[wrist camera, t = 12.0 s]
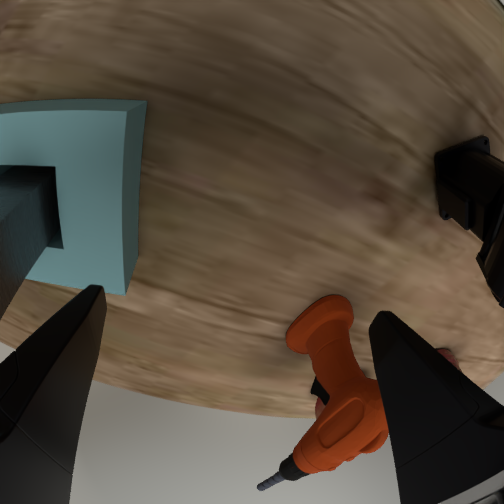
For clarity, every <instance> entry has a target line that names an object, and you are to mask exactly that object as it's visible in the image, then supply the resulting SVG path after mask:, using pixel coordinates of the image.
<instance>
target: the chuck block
mask: <svg viewBox="0 0 504 504" xmlns="http://www.w3.org/2000/svg"><path fill="white" fill-rule="evenodd" d="M146 108H147V101H142V100H122V99H55V100H37V101H24V102H14V103H5V104H0V175H1V174H3V173H4V172H5V171H7V170H8V169H10V168H11V167H12V166H14V165H33V166H56V185H57V198H58V208H59V218H60V226H61V228H60V229H59V231H58V232H57V233H56V235H55V236H54V237H53V239H52V240H51V241H50V243H49V244H48V245H47V247H46V248H45V250H44V251H43V252H42V254H41V255H40V257H39V258H38V260H37V261H36V263H35V264H34V266H33V267H32V269H31V270H30V272H29V273H28V275H27V276H26V278H25V279H30V280H35V281H41V282H46V283H51V284H57V285H62V286H68V287H74V288H80V289H85V288H86V287H87V286H88V285H90V284H96V285H102V286H103V287H104V290H105V293H111V294H118V295H126V292H127V289H128V286H129V283H130V280H131V277H132V273H133V270H134V268H135V265H136V262H137V259H138V214H139V188H140V171H141V157H142V145H143V134H144V125H145V116H146Z"/></svg>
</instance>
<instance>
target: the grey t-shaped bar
mask: <svg viewBox="0 0 504 504" xmlns="http://www.w3.org/2000/svg"><path fill="white" fill-rule="evenodd" d="M60 228H61V226H60V218H59V208H58V198H57V185H56V166H33V165H14V166H12V167H11V168H10V169H8V170H7V171H5V172H4V173H3V174H1V175H0V320H1V318H2V316H3V314H4V313H5V311H6V309H7V307H8V306H9V304H10V302H11V300H12V299H13V297H14V295H15V294H16V292H17V291H18V289H19V287H20V286H21V284H22V282H23V281H24V279H25V278H26V276H27V275H28V273H29V272H30V270H31V269H32V267H33V266H34V264H35V263H36V261H37V260H38V258H39V257H40V255H41V254H42V252H43V251H44V250H45V248H46V247H47V245H48V244H49V243H50V241H51V240H52V239H53V237H54V236H55V235H56V233H57V232H58V231H59V229H60Z"/></svg>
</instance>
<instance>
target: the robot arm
mask: <svg viewBox="0 0 504 504" xmlns="http://www.w3.org/2000/svg"><path fill="white" fill-rule="evenodd" d="M484 141H485V142H484ZM440 158H441V160H440ZM435 166H436V174H437V190H438V202H439V206H440V216H441V218H442V219H443V220H448V219H450V218H453V219H454V220H455V221H456V222H457V223H458V224H460V225H461V226H462V227H463V228H464V229H465V230H469V229H470V230H471V231H472V232H473V233H474V234H475V235H476V236H477V237H478V238H479V239H480V240H481V241H482V242H483V245H482V247H481V250H480V252H479V253H478V255H477V257H476V260H477V262H478V264H479V266H480V268H481V270H482V272H483V275H484V277H485V279H486V282H487V285H488V287H489V288H490V290H491V292H492V294H493V295H494V297H495V299H496V300H497V301H498V302H499V305H500V306H501V307H503V308H504V162H503V161H501V160H500V159H498V158H496V157H495V156H493V155H491V154H490V145H489V139H488V137H486V136H484V135H483V136H480V137H477V138H475V139H472V140H469V141H467V142H464V143H461V144H459V145H456V146H454V147H451V148H448V149H446V150H443V151H441V152H438V153H437V154H436V155H435ZM445 214H446V215H445ZM106 311H107V304H106V297H105V290H104V287H103V286H102V285H96V284H90V285H88V286H87V287H86V288H85V289H84V290H82V291H81V292H80V293H79V294H78V295H76V296H75V297H74V298H73V299H72V300H70V301H69V302H68V303H67V304H66V305H65V306H63V307H62V308H61V309H60V310H59V311H58V312H56V313H55V314H54V315H53V316H52V317H51V318H50V319H48V320H47V321H46V322H45V323H44V324H43V325H42V326H41V327H39V328H38V329H37V330H36V331H35V332H34V333H33V334H32V335H31V336H29V337H28V338H27V339H26V340H25V341H24V342H23V343H22V344H21V345H20V346H19V347H18V348H17V349H16V351H13V352H12V353H11V354H10V355H9V356H8V357H7V358H6V359H5V360H4V361H3V362H1V363H0V504H69V500H70V492H71V483H72V476H73V475H72V474H73V469H74V463H75V456H76V451H77V445H78V440H79V434H80V430H81V425H82V420H83V415H84V411H85V407H86V402H87V397H88V394H89V390H90V386H91V382H92V378H93V374H94V371H95V367H96V363H97V359H98V355H99V350H100V344H101V338H102V333H103V327H104V322H105V317H106ZM369 338H370V344H371V350H372V356H373V363H374V369H375V373H376V377H377V381H378V386H379V390H380V394H381V398H382V403H383V407H384V411H385V416H386V421H387V425H388V430H389V435H390V440H391V446H392V451H393V456H394V462H395V468H396V474H397V481H398V488H399V495H400V502H401V504H438V503H441V504H504V406H503V405H501V404H500V403H499V402H497V401H496V400H495V399H493V398H492V397H491V396H490V395H488V394H487V393H486V392H485V391H483V390H482V389H481V388H480V387H478V386H477V385H476V384H475V383H473V382H472V381H471V380H470V379H469V378H468V377H467V376H465V375H464V374H463V373H462V372H461V371H460V370H459V369H458V370H457V368H456V367H455V366H454V365H453V364H452V363H451V362H450V361H448V360H447V359H446V358H445V357H444V356H443V355H442V354H440V353H439V352H438V351H437V350H436V349H435V348H434V347H432V346H431V345H430V344H429V343H428V342H427V341H425V340H424V339H423V338H422V337H421V336H420V335H418V334H417V333H416V332H415V331H414V330H412V329H411V328H410V327H409V326H408V325H407V324H405V323H404V322H403V321H402V320H401V319H399V318H398V317H397V316H396V315H395V314H393V313H392V312H391V311H380V312H378V314H377V315H376V317H375V318H374V320H373V322H372V323H371V325H370V327H369Z"/></svg>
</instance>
